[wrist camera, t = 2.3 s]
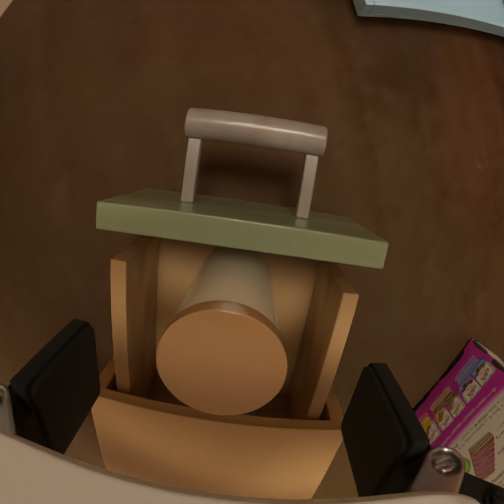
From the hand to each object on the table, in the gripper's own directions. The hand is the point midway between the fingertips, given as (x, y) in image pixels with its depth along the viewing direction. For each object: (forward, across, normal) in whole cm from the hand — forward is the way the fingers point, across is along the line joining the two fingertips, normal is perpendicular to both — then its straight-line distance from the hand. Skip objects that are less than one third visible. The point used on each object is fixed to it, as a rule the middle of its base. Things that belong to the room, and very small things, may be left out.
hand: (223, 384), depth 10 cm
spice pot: (+10, 0, 0) cm, 10 cm away
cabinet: (+12, 0, +12) cm, 17 cm away
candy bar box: (+12, -21, +9) cm, 26 cm away
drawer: (+11, 0, 0) cm, 11 cm away
